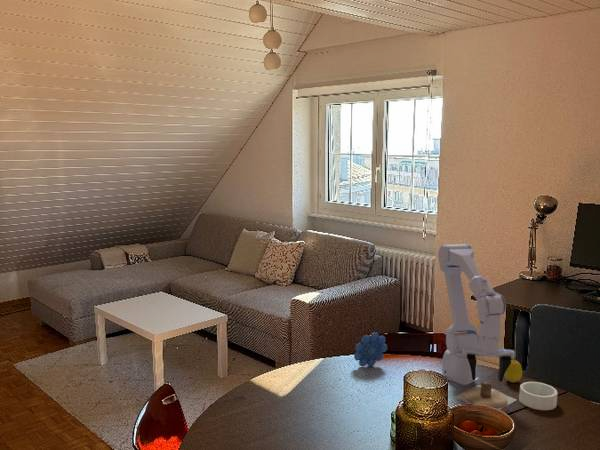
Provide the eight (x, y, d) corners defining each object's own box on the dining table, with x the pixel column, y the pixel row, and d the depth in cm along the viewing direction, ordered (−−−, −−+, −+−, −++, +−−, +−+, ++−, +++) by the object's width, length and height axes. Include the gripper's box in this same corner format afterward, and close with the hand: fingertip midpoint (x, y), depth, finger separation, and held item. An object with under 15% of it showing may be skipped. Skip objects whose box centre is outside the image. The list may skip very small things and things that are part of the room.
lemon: (522, 387, 178) (524, 363, 177) (504, 386, 179) (505, 362, 178) (519, 380, 183) (521, 356, 182) (501, 378, 184) (503, 355, 183)
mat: (453, 398, 170) (454, 397, 170) (478, 386, 179) (478, 384, 178) (493, 415, 161) (493, 413, 160) (517, 401, 169) (517, 399, 169)
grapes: (382, 360, 199) (383, 327, 197) (389, 367, 192) (390, 334, 190) (350, 362, 197) (351, 329, 195) (356, 370, 190) (356, 336, 188)
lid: (456, 397, 170) (457, 382, 169) (478, 385, 178) (479, 371, 177) (492, 412, 161) (493, 396, 160) (514, 399, 169) (515, 384, 168)
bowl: (512, 402, 168) (513, 388, 168) (529, 392, 175) (530, 378, 174) (545, 415, 161) (546, 400, 160) (562, 404, 167) (563, 390, 166)
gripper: (465, 339, 163) (463, 383, 165) (518, 341, 161) (515, 386, 164) (462, 330, 170) (460, 373, 172) (512, 333, 168) (509, 376, 170)
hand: (486, 379), depth 168 cm, fingers open, 7 cm apart
